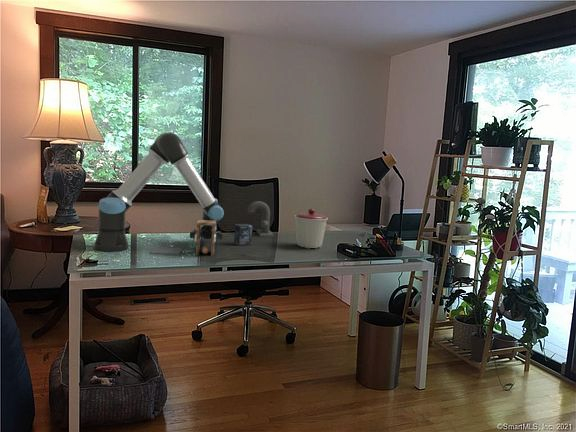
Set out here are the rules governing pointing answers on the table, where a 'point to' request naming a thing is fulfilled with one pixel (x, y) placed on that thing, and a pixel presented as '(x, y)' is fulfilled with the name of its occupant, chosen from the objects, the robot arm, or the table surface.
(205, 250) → the ball
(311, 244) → the canister
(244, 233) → the box
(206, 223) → the wooden open frame
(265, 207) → the faucet
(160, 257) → the table surface
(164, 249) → the mat
